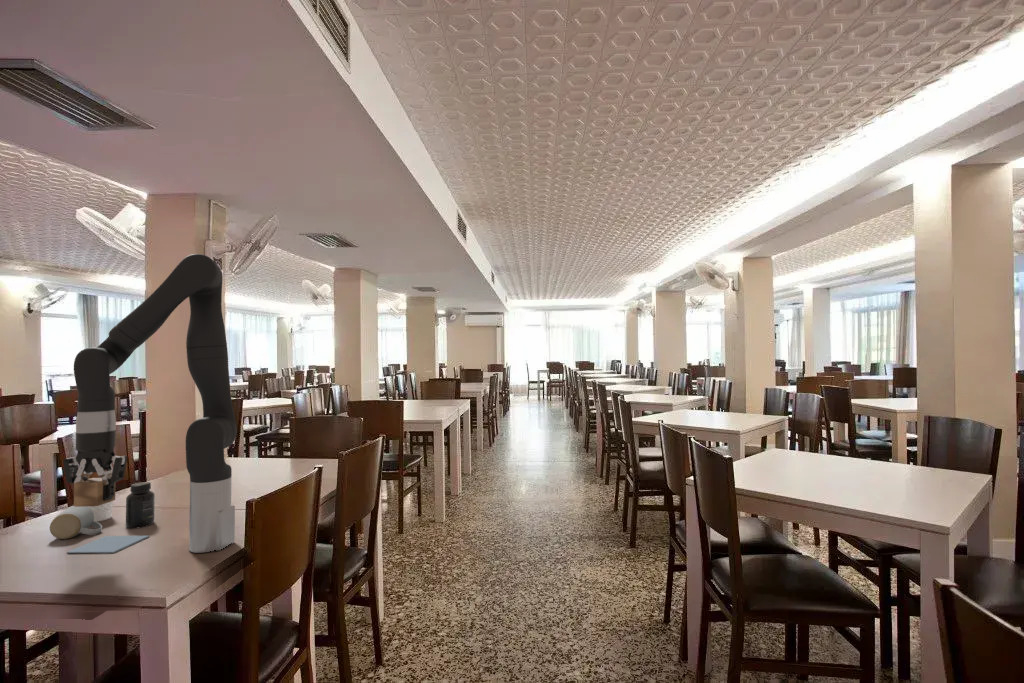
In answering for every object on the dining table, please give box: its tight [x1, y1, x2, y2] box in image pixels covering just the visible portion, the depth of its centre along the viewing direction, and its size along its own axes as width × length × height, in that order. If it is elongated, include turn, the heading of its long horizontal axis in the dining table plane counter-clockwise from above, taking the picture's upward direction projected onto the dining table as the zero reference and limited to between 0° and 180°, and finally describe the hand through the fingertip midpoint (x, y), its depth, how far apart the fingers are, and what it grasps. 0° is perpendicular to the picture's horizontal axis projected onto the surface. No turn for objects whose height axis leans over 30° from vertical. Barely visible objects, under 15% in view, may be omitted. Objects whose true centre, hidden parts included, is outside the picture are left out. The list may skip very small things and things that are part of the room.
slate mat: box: [66, 535, 150, 554], centre depth 133 cm, size 12×12×1 cm
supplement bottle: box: [125, 481, 156, 529], centre depth 150 cm, size 7×7×12 cm
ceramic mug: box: [49, 504, 103, 540], centre depth 142 cm, size 11×8×8 cm
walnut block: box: [73, 477, 116, 507], centre depth 123 cm, size 6×6×6 cm
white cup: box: [87, 501, 114, 522], centre depth 157 cm, size 8×8×10 cm
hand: (94, 499), depth 123 cm, fingers closed on walnut block, 5 cm apart
